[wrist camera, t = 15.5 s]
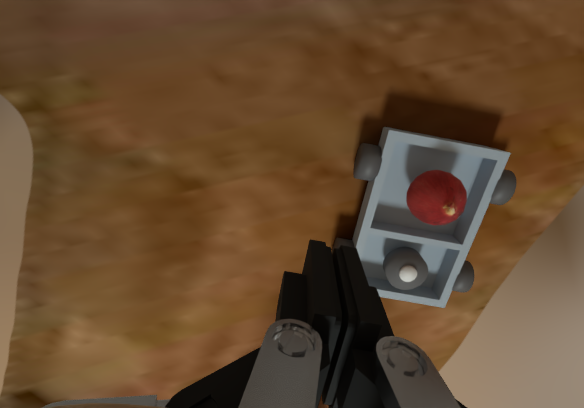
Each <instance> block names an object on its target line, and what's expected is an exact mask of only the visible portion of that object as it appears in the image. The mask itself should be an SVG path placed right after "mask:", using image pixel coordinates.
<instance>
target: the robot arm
mask: <svg viewBox="0 0 584 408" xmlns="http://www.w3.org/2000/svg"><path fill="white" fill-rule="evenodd" d="M321 394H322V401H323V404H327V405H329V408H467V407H465V406H464V405H462V404H461V403H460V402H459V401H457V400H456V399H455V398H454V396H453V395H452V393H451V391H450V390H449V388H448V387H447V385H446V384H445V382H444V380H443V379H442V377H441V376H440V374H439V372H438V371H437V369H436V368H435V366H434V365H433V363H432V361H431V360H430V358H429V357H428V356H427V355H426V353H425V352H424V351H423V350H422V349H420V348H419V347H418V346H417V345H415V344H414V343H412V342H410V341H408V340H406V339H403V338H400V337H395V336H394V334H393V331H392V329H391V326H390V323H389V321H388V318H387V315H386V312H385V310H384V307H383V304H382V302H381V299H380V296H379V294H378V291H377V289H376V287H373V286H369V284H368V281H367V278H366V275H365V272H364V269H363V266H362V263H361V260H360V257H359V254H358V251H357V249H356V248H355V247H349V246H343V245H340V247H339V249H338V248H334V250H333V253H331V248H330V247H327V246H326V243H325V242H321V241H315V240H310V241H309V245H308V250H307V254H306V259H305V263H304V268H303V272H302V274H299V273H293V272H287V271H284V274H283V279H282V284H281V289H280V294H279V300H278V306H277V313H276V321H275V323H273V324H272V325H270V327H269V328H268V330H267V332H266V335H265V337H264V340H263V343H262V345H261V347H260V348H258V349H256V350H254V351H252V352H250V353H249V354H247V355H245V356H243V357H241V358H239V359H238V360H236V361H234V362H232V363H230V364H228V365H227V366H225V367H223V368H221V369H219V370H217V371H216V372H214V373H212V374H210V375H208V376H206V377H204V378H203V379H201V380H199V381H197V382H195V383H193V384H192V385H190V386H188V387H186V388H184V389H182V390H181V391H180V392H178V393H177V394H176V395H174V396H173V397H172V398H171V399H170V400H157V395H147V396H131V397H114V398H98V399H81V400H65V401H60V402H56V403H51V404H49V405H47V406H45V407H43V408H318V404H319V401H320V397H321Z"/></svg>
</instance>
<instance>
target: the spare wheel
mask: <svg viewBox="0 0 584 408" xmlns="http://www.w3.org/2000/svg"><path fill="white" fill-rule="evenodd" d="M383 270H384V272H385V274H386V276H387V279H388V281H389V282H390V284H391V285H392V286H394V287H395V288H398V289H401V290H410V289H414V288H416V287H418V286H420V285H421V284H422V283H423V282H424V281H425V279H426V278H427V275H428V266H427V264H426V262H425V261H424V259H423V258H422V256H421V255H420V254H419V252H418V251H416V250H415V249H413V248H410V247H398V248H395V249H393V250H392V251H390V252H389V253H388V254H387V255H386V256H385V258H384V261H383Z"/></svg>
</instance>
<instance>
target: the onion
mask: <svg viewBox="0 0 584 408" xmlns="http://www.w3.org/2000/svg"><path fill="white" fill-rule="evenodd" d="M406 202H407V206H408V208H409V210H410V211H411V213H412V214H413V215H414V216H415V217H416V218H418V219H419V220H420V221H422V222H424V223H427V224H430V225H446V224H448V223H451V222H453V221H455V220H456V219H457V218H458V217H459V216H460V215H461V214H462V213H463V212H464V209H465V205H466V202H467V192H466V189H465V187H464V185H463V184H462V182H461V180H459V179H458V178H457V177H455V176H454V175H453V174H451V173H449V172H445V171H441V170H430V171H426V172H424V173H422V174H421V175H419V176H417V177H416V178H415V179H414V181H413V182H412V183H411V184H410V186H409V188H408V191H407V196H406Z"/></svg>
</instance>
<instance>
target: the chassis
mask: <svg viewBox="0 0 584 408" xmlns="http://www.w3.org/2000/svg"><path fill="white" fill-rule="evenodd" d="M509 156H510V153H509V152H506V151H502V150H499V149H495V148H491V147H488V146H483V145H478V144H473V143H467V142H462V141H457V140H452V139H446V138H441V137H436V136H431V135H425V134H420V133H415V132H410V131H404V130H399V129H394V128H389V127H383V130H382V134H381V138H380V141H379V145H378V146H377V145H372V144H366V143H362V144H361V145H360V147H359V149H358V152H357V155H356V159H355V164H354V178H357V179H362V180H368V185H367V188H366V192H365V196H364V199H363V203H362V206H361V210H360V214H359V217H358V221H357V225H356V228H355V232H354V235H353V239H352V240H348V239H343V238H336V240H335V242H334V245H333V250H334V248H338V249H339V247H340V245H343V246H349V247H355V248H356V249H357V251H358V254H359V257H360V260H361V263H362V266H363V269H364V272H365V275H366V278H367V281H368V284H369V286H373V287H376V289H377V291H378V294H379V296H380V297H385V298H390V299H396V300H402V301H408V302H413V303H419V304H425V305H430V306H436V307H442V308H445V306H446V303H447V301H448V299H449V296H450V294H451V291H452V290H453V291H458V292H467V291H469V290H470V288H471V287H472V285H473V281H474V270H473V267H472V265H471V263H470V262H468V261H465V259H466V256H467V254H468V252H469V249H470V247H471V245H472V242H473V240H474V238H475V235H476V233H477V231H478V228H479V226H480V224H481V221H482V219H483V217H484V214H485V212H486V210H487V207H488V205H489V203H492V204H497V205H502V204H505V203H506V202H508V201H509V200H510V199H511V197H512V196H513V194H514V191H515V188H516V177H515V175H514V173H513V172H512V171H509V170H504V168H505V165H506V163H507V160H508V158H509ZM430 170H441V171H445V172H449V173H451V174H453V175H454V176H455V177H457V178H458V179H459V180H461V182H462V184H463V185H464V187H465V189H466V192H467V202H466V205H465V209H464V212H463V213H462V214H461V215H460V216H459V217H458V218H457V219H456V220H455V221H453V222H451V223H448V224H446V225H430V224H427V223H424V222H422V221H420V220H419V219H418V218H416V217H415V216H414V215H413V214H412V213H411V211H410V210H409V208H408V206H407V202H406V196H407V191H408V188H409V186H410V184H411V183H412V182H413V181H414V179H415V178H416V177H417V176H419V175H421V174H422V173H424V172H426V171H430ZM398 247H410V248H413V249H415V250H416V251H418V252H419V254H420V255H421V256H422V258H423V259H424V261H425V262H426V264H427V266H428V275H427V278H426V279H425V281H424V282H423V283H422V284H421V285H420V286H418V287H416V288H414V289H410V290H401V289H398V288H395V287H394V286H392V285H391V284H390V282H389V281H388V279H387V276H386V274H385V272H384V270H383V261H384V258H385V256H386V255H387V254H388V253H389V252H390V251H392V250H393V249H395V248H398ZM333 250H332V253H333Z"/></svg>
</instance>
